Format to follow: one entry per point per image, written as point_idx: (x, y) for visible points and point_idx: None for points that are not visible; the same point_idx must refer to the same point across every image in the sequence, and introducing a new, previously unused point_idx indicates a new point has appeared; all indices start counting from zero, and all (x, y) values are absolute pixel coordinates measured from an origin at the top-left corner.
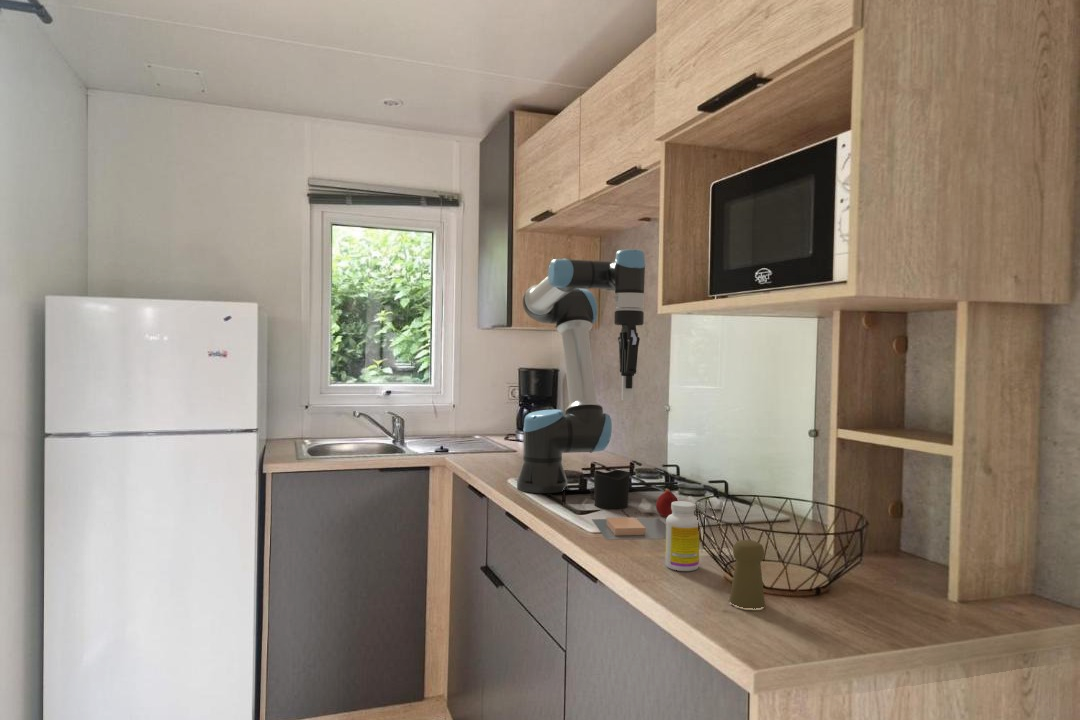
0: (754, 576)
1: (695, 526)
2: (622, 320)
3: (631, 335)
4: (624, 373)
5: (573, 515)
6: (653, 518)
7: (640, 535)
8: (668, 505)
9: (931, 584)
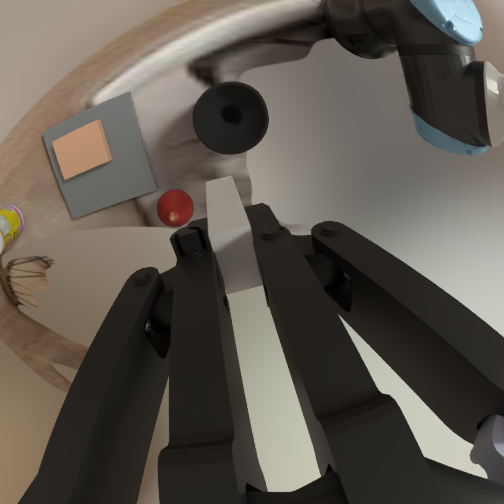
0: None
1: None
2: None
3: None
4: (186, 254)
5: (179, 58)
6: (153, 182)
7: None
8: (157, 210)
9: (72, 365)
